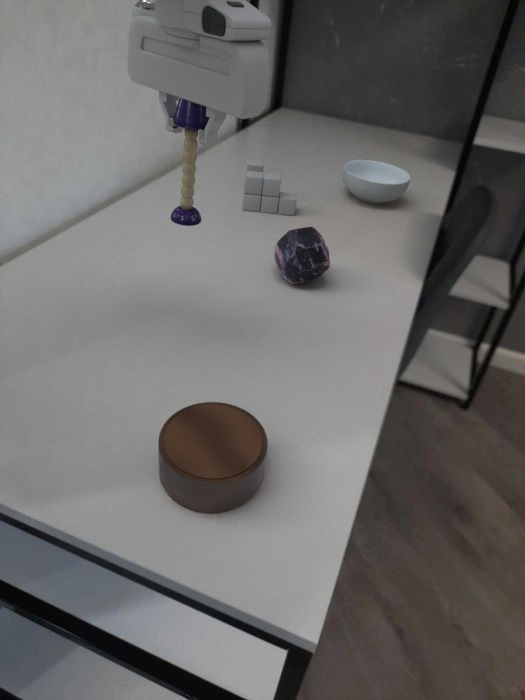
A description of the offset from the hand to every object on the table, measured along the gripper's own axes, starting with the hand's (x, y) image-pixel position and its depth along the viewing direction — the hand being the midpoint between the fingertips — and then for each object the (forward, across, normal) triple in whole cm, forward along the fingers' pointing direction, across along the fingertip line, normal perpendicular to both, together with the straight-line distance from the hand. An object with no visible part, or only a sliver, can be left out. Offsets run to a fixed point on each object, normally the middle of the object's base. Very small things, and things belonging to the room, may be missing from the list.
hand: (191, 138), depth 66 cm
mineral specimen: (+28, +4, +26) cm, 38 cm away
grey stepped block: (+28, -22, +49) cm, 60 cm away
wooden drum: (+28, +23, -18) cm, 41 cm away
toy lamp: (+11, 0, 0) cm, 11 cm away
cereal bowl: (+27, -8, +74) cm, 79 cm away
